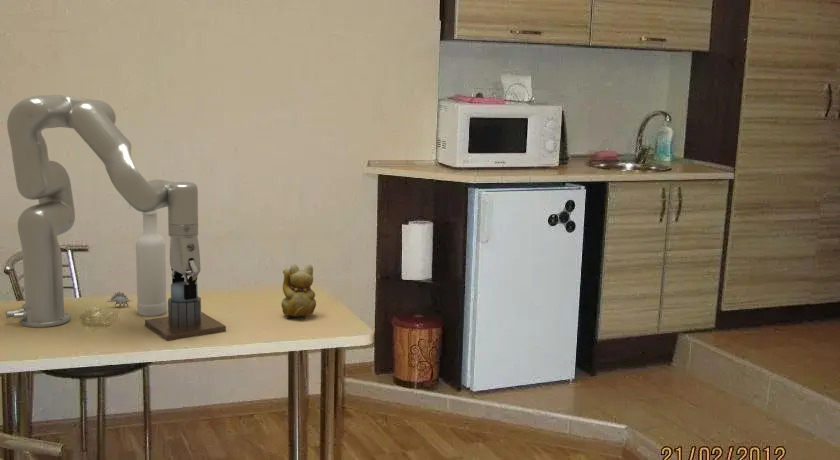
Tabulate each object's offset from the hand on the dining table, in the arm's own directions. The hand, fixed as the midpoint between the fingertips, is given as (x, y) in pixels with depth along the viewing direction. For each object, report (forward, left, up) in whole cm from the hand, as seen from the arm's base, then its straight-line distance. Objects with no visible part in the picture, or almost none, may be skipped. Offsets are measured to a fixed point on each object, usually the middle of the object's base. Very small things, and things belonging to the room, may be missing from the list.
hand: (184, 295), depth 230 cm
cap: (0, 0, -5) cm, 5 cm away
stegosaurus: (-8, +29, -9) cm, 32 cm away
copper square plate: (0, 0, -9) cm, 9 cm away
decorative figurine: (+31, -6, -9) cm, 33 cm away
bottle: (-2, +19, -9) cm, 21 cm away
